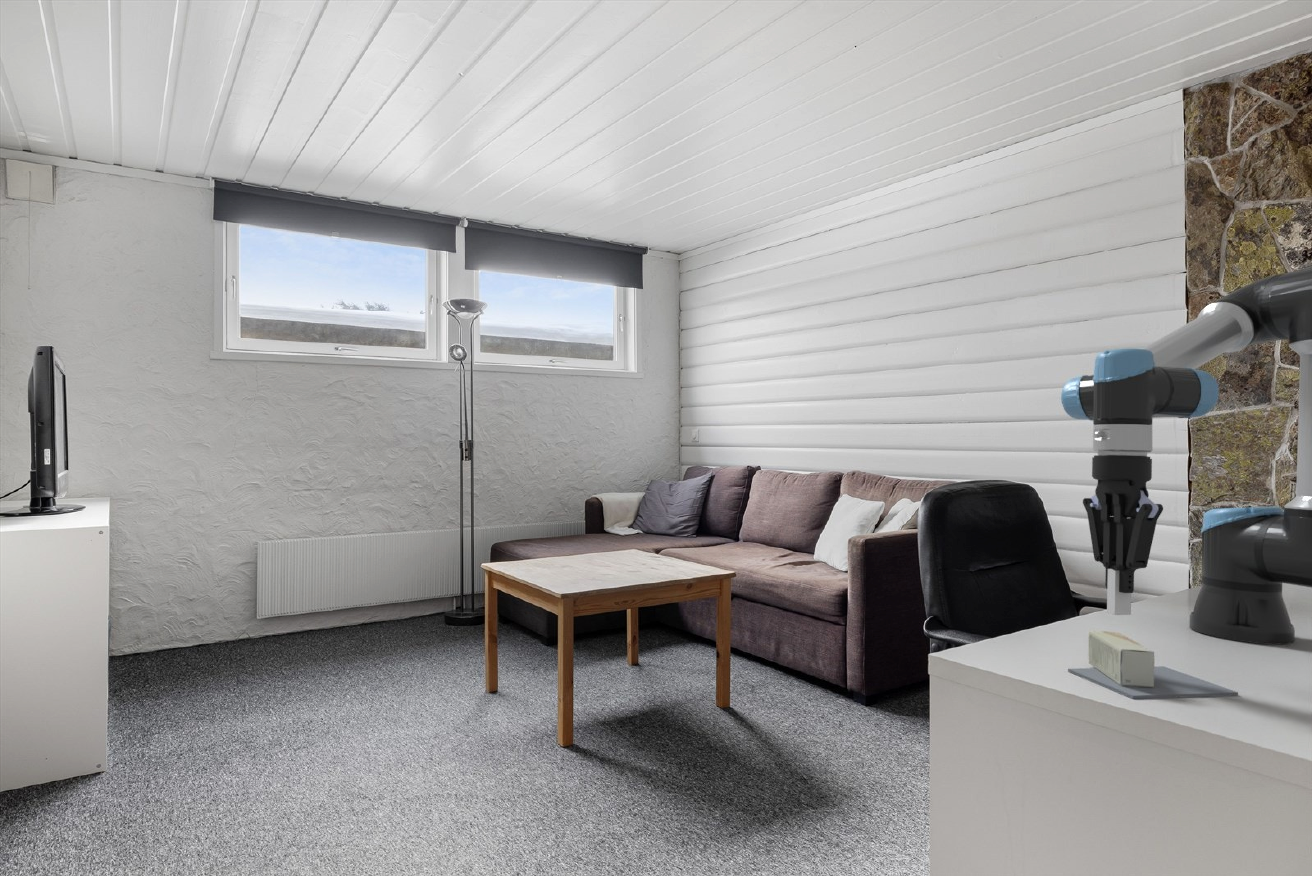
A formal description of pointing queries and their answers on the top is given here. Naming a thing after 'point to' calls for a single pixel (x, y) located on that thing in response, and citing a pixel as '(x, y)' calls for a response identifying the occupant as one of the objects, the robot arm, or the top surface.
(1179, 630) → the top surface
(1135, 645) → the box
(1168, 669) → the mat
